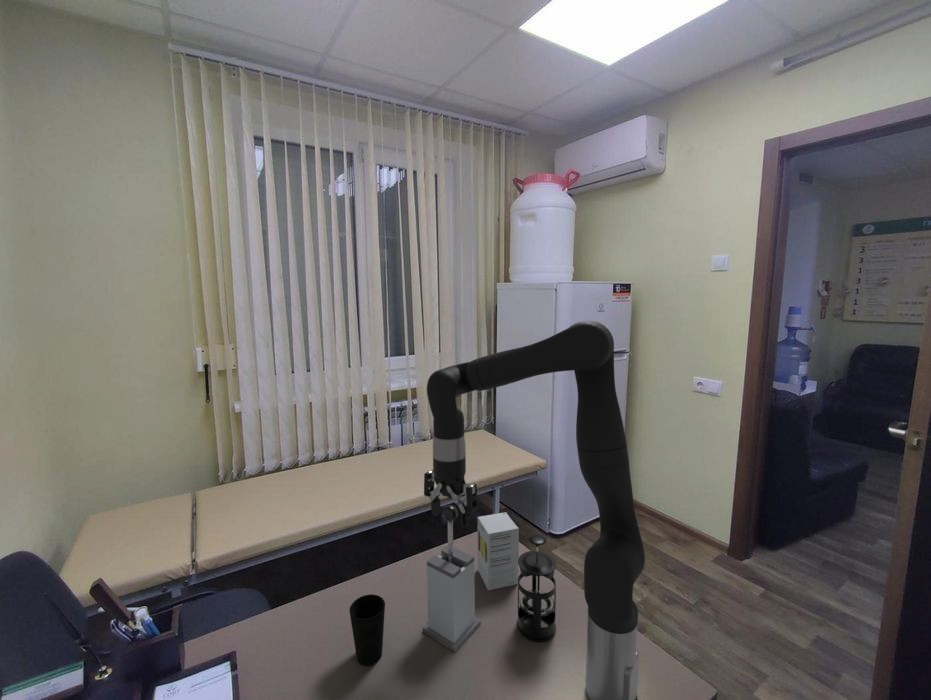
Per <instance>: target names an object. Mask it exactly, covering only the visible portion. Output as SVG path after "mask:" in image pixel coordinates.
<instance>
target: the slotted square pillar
mask: <svg viewBox="0 0 931 700" xmlns="http://www.w3.org/2000/svg"><path fill="white" fill-rule="evenodd" d="M447 560H448V545H446V546H445V547H443V549H441V550H440V555H438V556H437V555H433V556H432V557H431V558H429V559H427V560H426V580H427V582H426V584H427V623H426V624H425V625H423V626H422V632H423V633H425V634H427V636H430V638H432V639H433V640H435V641H437V642H438V643H440V644H441V645H442V646H444V647H446V648H447V649H450V651H453V652H454V653H457V651H458V650H459V649H460V648H461V647H462V645H464V643H466V641H467V640H468V639H469V638H470V637H471V636H472V634H473V633H474V632H475V631H476V630H477V629H478V628H480V627H479V626H481V623H482V622H481V619H478V618H476V612H475V611H476V609H475V608H476V607H475V606H476V605H475V604H476V602H475V601H476V600H475V599H476V597H475V594H476V593H475V592H476V591H475V585H476V584H475V556H474V555H471V554H469V553H467V552H465V551H462V550H460V549H458V548H457V547H454V546H453V560H454V561H456V562H458V563H460V564H462V565H464V566H463V567H462V568H460V567H458V566H456V565H453V564H451V563H449V562H447Z"/></svg>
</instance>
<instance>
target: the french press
mask: <svg viewBox="0 0 931 700" xmlns="http://www.w3.org/2000/svg"><path fill="white" fill-rule="evenodd" d="M528 541H529V543H530V544H532V545H535V547H536V550H529V551H526V552H523V553H522V554H520V555H519V556H518V568H519V570H520V574H518V584H517V619H516V628H517V630H518V632H519V634H520V636H522V637H524V638H525V639H526V640H528V641H530V642H535V643H545V642H547V641H548V642H549V641H550V640H551V639H553V638H554V636H555V635H556V632H557V625H556V599H557V595H556V593H557V588H556V587H557V581H556V579H555V577H554V576H555V570H556V569H557V561H556V559H555V558H554V557H553V556H552V555H550V554H549V553H546V552H544V551H540V550H539V547H540V546H542V545H545V544H546V543H547V538H546V537H545V536H544V535H542V534H530V535H529V537H528ZM531 576H532V577H531ZM524 577H525V578H526V577H531V585H532V586H531V590H526V589H525V588H524V587H523V586H522V585H521V583H520V581H521V580H522V579H523V578H524ZM541 577H545V578H547V579H549V580H550V581H551V582H552V584H553V585H554V586H553V588H552V589H551V590H550V591H548V592H544V591H542V590H540V587H541V586H540V585H541V583H540V581H541ZM520 592H521V593H522V594H521V595H520ZM552 597H553V598H552ZM528 616H530V617H533V618H532V619H533V621H532V623H533V625H532V626H530V625H528V624H527V623H525V622H524V620H525V619H526V617H528ZM542 618H544V619H546V621H548V622H549V625H548V626H544V627H542Z"/></svg>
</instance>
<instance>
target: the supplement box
mask: <svg viewBox="0 0 931 700" xmlns="http://www.w3.org/2000/svg"><path fill="white" fill-rule="evenodd" d="M519 529H520V528H519V527H518V526H517V525H516V523H515V522H514V521H513V520H512V518H511V517H510V516H509V514H508V512H506V511H505V512H500V513H492V514H488V515H481V516H477V571H478V573H479V575H480V577H481V579H482V581H483V584H484V586H485V587H486V590H487V591H493V590H498V589H502V588H506V587H511V586H515V585H518V577H519V564H518V559H519V549H520V547H519V543H520V537H519V536H520V530H519Z"/></svg>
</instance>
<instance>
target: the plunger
mask: <svg viewBox="0 0 931 700" xmlns="http://www.w3.org/2000/svg"><path fill="white" fill-rule="evenodd" d="M458 512H459V511H458V509H457V507H456V506H454V505H452V504H448V505H446V506H445V507H443V509H442V512H441V513H442V514H441V515H442V517H443V519H444V521H446V522H447V546H448V560H447V562H449V563H451V564H453V565H456V566H458V567H460V568H462V567H463V566H464V565H462V564H460V563H458V562H456V561H454V560H453V547H454V525H453V524H454V521H455V520H456V519H457V518H458V514H459V513H458Z"/></svg>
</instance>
